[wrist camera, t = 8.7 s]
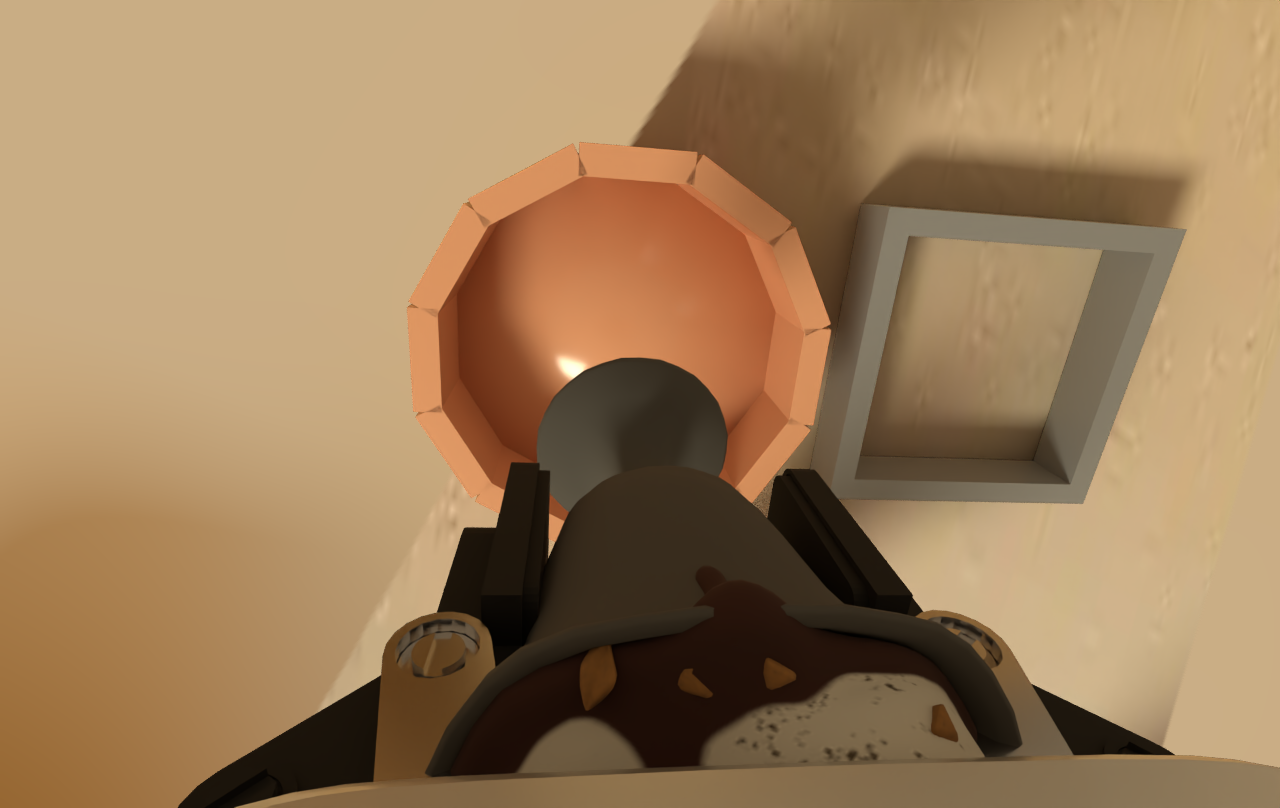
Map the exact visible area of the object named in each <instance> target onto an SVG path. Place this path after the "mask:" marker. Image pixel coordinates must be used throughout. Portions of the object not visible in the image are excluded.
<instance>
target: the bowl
mask: <svg viewBox="0 0 1280 808" xmlns="http://www.w3.org/2000/svg"><path fill="white" fill-rule="evenodd" d="M468 200H469V202H467V203H463V205H462V207H461V209H460V210H459V212H458V214H457V216H456V217H455V219H454V221H453V223H452V225H451V226H450V228H449V230H448V232H447V234H446V236H445V237H444V239H443V241H442V242H441V244H440V246H439V248H438V250H437V251H436V253H435V255H434V257H433V259H432V260H431V262H430V264H429V266H428V267H427V269H426V271H425V273H424V275H423V276H422V278H421V280H420V282H419V284H418V285H417V287H416V289H415V291H414V292H413V294H412V296H411V298H410V300H409V302H410V303H412V304H411V305H410V306H408V307H407V315H408V330H409V348H410V364H411V380H412V396H413V411H414V412H418V414H417V415H416V419H417V420H418V422H419V423H420V425H421V426H422V427H423V429H424V430H425V432H426V433H427V435H428V436H429V438H430V439H431V440H432V442H433V443H434V445H435V446H436V448H437V449H438V451H439V452H440V453H441V455H442V456H443V458H444V459H445V461H446V462H447V464H448V465H449V466H450V468H451V469H452V471H453V472H454V474H455V475H456V477H457V478H458V479H459V481H460V482H461V484H462V485H463V487H464V488H465V490H466V491H467V492H468V494H469V495H470V497H471V498H472V497H474V496H476V495H477V498H476V501H475V502H477V503H479V504H481V505H483V506H485V507H487V508H489V509H491V510H493V511H495V512H497V513H500V509H501V504H502V500H503V496H504V491H505V487H506V482H507V478H508V474H509V469H510V465H511V462H525V463H537V436H538V428H539V426H540V423H541V421H542V418H543V416H544V413H545V411H546V410H547V408H548V406H549V404H550V403H551V401H552V399H553V397H554V396H555V395H556V394H557V393H558V392H559V391H560V390H561V389H562V388H563V387H564V386H565V385H566V384H567V383H568V382H569V381H571V380H572V379H573V378H575V377H576V376H577V375H579V374H580V373H581V372H583V371H584V370H586V369H589V368H591V367H594V366H596V365H599V364H601V363H604V362H608V361H611V360H615V359H619V358H637V357H642V358H651V359H660V360H663V361H666V362H668V363H671V364H674V365H676V366H679V367H680V368H682V369H684V370H686V371H688V372H690V373H691V374H693V375H695V376H696V377H697V378H698V379H699V380H700V381H701V382H702V383H703V384H704V385H705V386H706V387H707V388H708V389H709V391H710V392H711V393H712V395H713V396H714V397H715V398H716V400H717V401H718V403H719V405H720V408H721V411H722V414H723V416H724V420H725V424H726V429H727V433H728V439H727V452H726V456H725V461H724V466H723V469H722V471H721V473H720V475H719V477H720V478H721V479H723V480H724V481H726V482H727V483H729V484H731V485H732V486H733V487H734V488H735V489H736V490H737V491H738V492H739V493H741V494H742V495H743V496H744V497H745V498H746V499H747V500H748V501H750V502H751V503H752V502H753V501H754V500H755V499H756V497H757V496H758V495H759V494H760V492H761V491H762V490H763V489H764V488H765V486H766V485H767V484H768V483H769V481H770V480H771V479H772V478H773V476H774V475H775V474H776V473H777V471H778V470H779V469H780V468H781V466H782V465H783V464H784V463H785V462H786V460H787V459H788V458H789V457H790V455H791V454H792V453H793V452H794V450H795V449H796V448H797V447H798V445H799V444H800V443H801V442H802V441H803V439H804V438H805V437H806V436H807V434H808V433H809V432H810V431H811V429H810V428H809V427H808V426H807V425H813V424H814V419H815V413H816V408H817V403H818V398H819V392H820V387H821V382H822V377H823V371H824V366H825V361H826V355H827V350H828V345H829V340H830V334H831V329H829V328H828V327H826V326H828V325H830V324H831V323H830V320H829V317H828V315H827V312H826V309H825V307H824V304H823V301H822V298H821V296H820V293H819V290H818V287H817V285H816V282H815V279H814V276H813V274H812V271H811V268H810V265H809V263H808V260H807V257H806V255H805V252H804V249H803V246H802V244H801V241H800V238H799V235H798V233H797V230H796V227H793V226H790V225H791V223H792V222H791V221H790V220H788V219H787V218H786V217H784V216H783V215H782V214H780V213H779V212H778V211H777V210H775V209H774V208H773V207H771V206H770V205H769V204H767V203H766V202H765V201H764V200H762V199H761V198H760V197H758V196H757V195H756V194H754V193H753V192H752V191H750V190H749V189H748V188H747V187H745V186H744V185H743V184H741V183H740V182H739V181H737V180H736V179H735V178H734V177H732V176H731V175H730V174H728V173H727V172H726V171H724V170H723V169H722V168H721V167H719V166H718V165H717V164H715V163H714V162H713V161H711V160H710V159H709V158H708V157H706V156H705V155H704V154H703V155H697V152H690V151H678V150H667V149H655V148H643V147H631V146H619V145H607V144H595V143H584V142H580V144H579V153H577V151H576V149H575V147H574V145H573V144H571V145H569V146H567V147H565V148H564V149H562V150H560V151H558V152H556V153H554V154H552V155H550V156H548V157H546V158H545V159H543V160H541V161H539V162H537V163H535V164H533V165H531V166H529V167H528V168H526V169H524V170H522V171H520V172H518V173H516V174H514V175H512V176H510V177H509V178H507V179H505V180H503V181H501V182H499V183H497V184H495V185H493V186H492V187H490V188H488V189H486V190H484V191H482V192H480V193H478V194H476V195H474V196H473V197H471V198H469V199H468ZM568 513H569V512H568V511H567V510H566V509H564V508H563V507H562V506H561V505H560V504H559V503H558V502H557V501H556V500H555V499H554V498H553V496H552V495H551V494H550V504H549V539H551V540H552V541H554V542H556V540H557V537H558V535H559V533H560V530H561V528H562V526H563V523H564V521H565V519H566V517H567V515H568Z"/></svg>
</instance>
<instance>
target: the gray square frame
mask: <svg viewBox="0 0 1280 808" xmlns="http://www.w3.org/2000/svg"><path fill="white" fill-rule="evenodd" d="M1186 230H1187V229H1177V228H1166V227H1156V226H1146V225H1136V224H1124V223H1111V222H1098V221H1085V220H1072V219H1059V218H1046V217H1033V216H1020V215H1007V214H994V213H981V212H968V211H955V210H942V209H929V208H916V207H903V206H890V205H877V204H864V203H861V206H860V212H859V217H858V222H857V227H856V232H855V238H854V243H853V248H852V253H851V258H850V264H849V269H848V274H847V279H846V284H845V290H844V295H843V300H842V305H841V310H840V316H839V321H838V326H837V331H836V336H835V341H834V347H833V352H832V357H831V362H830V367H829V373H828V378H827V383H826V388H825V393H824V399H823V404H822V409H821V414H820V419H819V425H818V430H817V435H816V440H815V445H814V451H813V456H812V461H811V466H810V469H814V470H815V471H817V473H818V474H819V475H820V476H821V478H822V479H823V480H824V482H825V483H826V484H827V485H828V487H829V488H830V489H831V491H832V492H833V493H834V494H835V496H836V497H837V498H838V499H863V500H913V501H964V502H1014V503H1065V504H1083V503H1084V500H1085V497H1086V495H1087V492H1088V489H1089V487H1090V484H1091V481H1092V479H1093V476H1094V473H1095V471H1096V468H1097V465H1098V463H1099V460H1100V457H1101V455H1102V452H1103V450H1104V447H1105V444H1106V442H1107V439H1108V436H1109V434H1110V431H1111V428H1112V426H1113V423H1114V420H1115V418H1116V415H1117V412H1118V410H1119V407H1120V405H1121V402H1122V399H1123V397H1124V394H1125V391H1126V389H1127V386H1128V383H1129V381H1130V378H1131V375H1132V373H1133V370H1134V367H1135V365H1136V362H1137V360H1138V357H1139V354H1140V352H1141V349H1142V346H1143V344H1144V341H1145V338H1146V336H1147V333H1148V330H1149V328H1150V325H1151V322H1152V320H1153V317H1154V314H1155V312H1156V309H1157V307H1158V304H1159V301H1160V299H1161V296H1162V293H1163V291H1164V288H1165V285H1166V283H1167V280H1168V277H1169V275H1170V272H1171V269H1172V267H1173V264H1174V262H1175V259H1176V256H1177V254H1178V251H1179V248H1180V246H1181V243H1182V240H1183V238H1184V235H1185V232H1186ZM909 236H917V237H931V238H945V239H959V240H973V241H987V242H1001V243H1015V244H1029V245H1043V246H1057V247H1071V248H1085V249H1099V250H1104V251H1103V254H1102V257H1101V260H1100V263H1099V265H1098V268H1097V271H1096V274H1095V277H1094V280H1093V283H1092V286H1091V289H1090V292H1089V295H1088V298H1087V301H1086V304H1085V307H1084V310H1083V313H1082V316H1081V319H1080V322H1079V325H1078V328H1077V331H1076V334H1075V337H1074V340H1073V343H1072V346H1071V349H1070V352H1069V355H1068V358H1067V361H1066V364H1065V367H1064V370H1063V373H1062V376H1061V379H1060V382H1059V385H1058V388H1057V391H1056V394H1055V397H1054V400H1053V403H1052V406H1051V409H1050V412H1049V415H1048V418H1047V421H1046V424H1045V427H1044V430H1043V433H1042V436H1041V439H1040V442H1039V445H1038V448H1037V451H1036V454H1035V457H1034V459H1033V461H1030V460H994V459H959V458H923V457H888V456H860V452H861V448H862V443H863V439H864V434H865V430H866V425H867V421H868V416H869V412H870V407H871V403H872V398H873V394H874V389H875V385H876V380H877V376H878V371H879V367H880V362H881V358H882V353H883V349H884V344H885V340H886V335H887V331H888V327H889V322H890V318H891V313H892V309H893V304H894V300H895V295H896V291H897V286H898V282H899V277H900V273H901V268H902V264H903V259H904V255H905V250H906V246H907V241H908V237H909Z"/></svg>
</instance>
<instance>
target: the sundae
mask: <svg viewBox="0 0 1280 808" xmlns="http://www.w3.org/2000/svg"><path fill="white" fill-rule="evenodd" d="M727 439H728V433H727V429H726V424H725V420H724V416H723V414H722V411H721V408H720V405H719V403H718V401H717V400H716V398H715V397H714V396H713V395H712V393H711V392H710V391H709V389H708V388H707V387H706V386H705V385H704V384H703V383H702V382H701V381H700V380H699V379H698V378H697V377H696V376H695V375H693V374H691V373H690V372H688V371H686V370H684V369H682V368H680V367H679V366H676V365H674V364H671V363H668V362H666V361H663V360H660V359H651V358H642V357H637V358H619V359H615V360H611V361H608V362H604V363H601V364H599V365H596V366H594V367H591V368H589V369H586V370H584V371H583V372H581V373H580V374H579V375H577V376H576V377H575V378H573V379H572V380H571V381H569V382H568V383H567V384H566V385H565V386H564V387H563V388H562V389H561V390H560V391H559V392H558V393H557V394H556V395H555V396H554V397H553V399H552V401H551V403H550V404H549V406H548V408H547V410H546V411H545V413H544V416H543V418H542V421H541V423H540V426H539V428H538V436H537V463H540V470H550V494H551V495H552V496H553V498H554V499H555V500H556V501H557V502H558V503H559V504H560V505H561V506H562V507H563V508H564V509H566V510H567V511H568V512H569V513H568V515H567V517H566V519H565V521H564V523H563V526H562V528H561V530H560V533H559V535H558V537H557V540H556V542H555V544H554V547H553V549H552V551H551V554H550V556H549V558H548V561H547V563H546V566H545V568H544V572H543V579H542V587H541V595H540V603H539V611H538V618H537V620H536V622H535V623H534V625H533V627H532V629H531V630H530V632H529V634H528V637H527V639H526V641H525V644H524V646H523V647H521V648H519V649H518V650H517V651H515V652H514V653H513V654H512V655H510V656H509V657H508V658H507V659H505V660H504V661H503V662H501V663H500V664H499V665H498V666H496V667H495V668H494V669H493V670H491V671H490V672H489V673H487V675H486V676H485V677H484V679H483V680H482V681H481V683H480V684H479V685H478V686H477V688H476V689H475V690H474V692H473V693H472V694H471V695H470V697H469V698H468V699H467V701H466V702H465V703H464V705H463V706H462V707H461V708H460V710H459V711H458V712H457V714H456V715H455V716H454V718H453V719H452V720H451V722H450V723H449V725H448V726H447V728H446V729H445V731H444V733H443V736H442V738H441V740H440V742H439V744H438V746H437V748H436V750H435V752H434V754H433V756H432V759H431V761H430V763H429V765H428V767H427V769H426V771H425V773H426V774H428V775H430V776H433V775H436V774H439V773H442V772H445V771H447V770H450V769H451V771H450V772H451V776H467V775H488V774H510V773H534V772H559V771H585V770H610V769H636V768H662V767H687V766H716V765H745V764H775V763H805V762H836V761H868V760H901V759H939V758H977V757H985V756H984V754H983V753H982V751H981V750H980V748H979V747H978V745H977V744H976V743H977V732H979V733H981V734H983V735H985V736H987V737H989V738H990V739H992V740H994V741H996V742H999V743H1004V744H1008V745H1012V746H1016V747H1020V746H1021V745H1022V744H1023V743H1022V739H1021V735H1020V732H1019V728H1018V724H1017V720H1016V716H1015V712H1014V710H1013V708H1012V706H1011V704H1010V702H1009V700H1008V698H1007V697H1006V695H1005V693H1004V691H1003V689H1002V687H1001V685H1000V684H999V682H998V680H997V678H996V676H995V674H994V672H993V671H992V670H991V669H990V667H989V666H988V665H987V664H986V663H985V661H984V660H983V659H982V658H981V657H980V655H979V654H978V653H977V652H976V650H975V649H974V648H973V647H972V646H971V644H969V643H968V642H966V641H965V640H963V639H962V638H960V637H959V636H957V635H956V634H954V633H953V632H951V631H950V630H948V629H946V628H945V627H943V626H942V625H940V624H939V623H937V622H934V621H930V620H926V619H922V618H918V617H914V616H909V615H905V614H901V613H896V612H890V611H884V610H878V609H871V608H865V607H859V606H853V605H847V604H844V603H843V602H841V601H840V600H839V599H838V598H837V597H836V596H835V595H834V594H833V593H832V592H831V591H829V590H828V589H827V588H826V587H825V585H824V584H823V583H822V582H821V581H820V579H819V578H818V577H817V576H816V575H815V573H814V572H813V571H812V570H811V569H810V567H809V566H808V565H807V564H806V563H805V562H804V560H803V559H802V558H801V557H800V556H799V554H798V553H797V552H796V551H795V550H794V548H793V547H792V546H791V545H790V544H789V542H788V541H787V540H786V539H785V538H784V536H783V535H782V534H781V533H780V532H779V531H778V530H777V529H776V528H775V527H774V525H773V524H772V523H771V522H770V521H769V520H768V519H767V518H766V517H765V516H764V515H763V514H762V512H761V511H760V510H759V509H757V508H756V507H755V506H754V505H753V504H752V503H751V502H750V501H748V500H747V499H746V498H745V497H744V496H743V495H742V494H741V493H739V492H738V491H737V490H736V489H735V488H734V487H733V486H732V485H731V484H729V483H727V482H726V481H724V480H723V479H721V478H720V477H719V475H720V473H721V471H722V469H723V466H724V461H725V456H726V452H727Z"/></svg>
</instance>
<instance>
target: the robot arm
mask: <svg viewBox="0 0 1280 808" xmlns="http://www.w3.org/2000/svg"><path fill="white" fill-rule="evenodd" d="M549 504H550V470H540V463H525V462H511V465H510V469H509V474H508V478H507V482H506V487H505V491H504V496H503V500H502V504H501V509H500V513H499V518H498V522H497V526H496V528H474V527H466V528H464V530H463V532H462V535H461V538H460V541H459V544H458V548H457V551H456V554H455V557H454V560H453V563H452V566H451V570H450V573H449V576H448V579H447V582H446V585H445V588H444V592H443V595H442V598H441V601H440V604H439V607H438V611H437V613H433V614H429V615H425V616H421V617H419V618H417V619H415V620H413V621H411V622H409V623H406V624H405V625H404V626H403V627H401V628H400V629H399V630H397V631H396V632H395V633H394V634H393V635H392V637H391V638H390V639H389V641H388V642H387V643H386V646H385V649H384V653H383V656H382V670H381V676H379V677H377V678H376V679H374V680H372V681H371V682H369V683H367V684H366V685H364V686H362V687H360V688H359V689H357V690H355V691H354V692H352V693H350V694H349V695H347V696H345V697H344V698H342V699H340V700H338V701H337V702H335V703H333V704H332V705H330V706H328V707H327V708H325V709H323V710H321V711H320V712H318V713H316V714H315V715H313V716H311V717H310V718H308V719H306V720H304V721H303V722H301V723H300V724H298V725H296V726H294V727H293V728H291V729H289V730H288V731H286V732H284V733H282V734H281V735H279V736H277V737H276V738H274V739H272V740H271V741H269V742H267V743H265V744H264V745H262V746H260V747H259V748H257V749H255V750H254V751H252V752H250V753H249V754H247V755H245V756H243V757H242V758H240V759H238V760H237V761H235V762H233V763H232V764H230V765H228V766H227V767H225V768H223V769H221V770H220V771H218V772H217V773H215V774H214V775H212V776H211V777H210V778H208V779H207V780H205V781H204V782H203V783H201V784H200V785H198V786H197V787H196V788H195V789H194V790H193V791H192V792H191V793H190V794H189V795H188V797H186V798H185V800H184V801H183V802H182V803H181V804H180V805H179V807H178V808H1280V768H1278V767H1273V766H1267V765H1261V764H1256V763H1250V762H1245V761H1240V760H1233V759H1224V758H1213V757H1202V756H1183V755H1174V754H1173V753H1171V752H1170V751H1168V750H1167V749H1165V748H1163V747H1161V746H1159V745H1157V744H1155V743H1153V742H1151V741H1149V740H1147V739H1145V738H1143V737H1141V736H1139V735H1137V734H1135V733H1133V732H1131V731H1128V730H1126V729H1124V728H1122V727H1120V726H1118V725H1116V724H1114V723H1112V722H1110V721H1108V720H1105V719H1103V718H1101V717H1099V716H1097V715H1095V714H1093V713H1091V712H1089V711H1087V710H1085V709H1083V708H1080V707H1078V706H1076V705H1074V704H1072V703H1070V702H1068V701H1066V700H1064V699H1062V698H1060V697H1058V696H1055V695H1053V694H1051V693H1049V692H1047V691H1045V690H1043V689H1041V688H1039V687H1037V686H1035V685H1033V684H1031V683H1030V681H1029V680H1028V678H1027V676H1026V675H1025V673H1024V671H1023V670H1022V668H1021V666H1020V664H1019V663H1018V661H1017V659H1016V658H1015V656H1014V654H1013V653H1012V651H1011V649H1010V648H1009V647H1008V646H1007V644H1006V643H1005V642H1004V641H1003V639H1002V638H1001V637H999V636H998V635H997V634H996V633H995V632H993V631H992V630H991V629H990V628H988V627H986V626H985V625H983V624H981V623H979V622H978V621H976V620H974V619H971V618H969V617H966V616H964V615H961V614H957V613H953V612H949V611H940V610H931V611H926V612H923V611H922V609H921V608H920V607H919V606H918V604H917V603H916V602H915V600H914V599H913V598H912V597H913V595H912V593H911V592H910V591H909V589H908V588H907V587H906V586H905V584H904V583H903V582H902V580H901V579H900V578H899V577H898V575H897V574H896V573H895V571H894V570H893V569H892V568H891V566H890V565H889V564H888V562H887V561H886V560H885V559H884V557H883V556H882V555H881V553H880V552H879V551H878V550H877V548H876V547H875V546H874V544H873V543H872V542H871V541H870V539H869V538H868V537H867V536H866V534H865V533H864V532H863V530H862V529H861V528H860V527H859V525H858V524H857V523H856V521H855V520H854V519H853V518H852V516H851V515H850V514H849V512H848V511H847V510H846V509H845V507H844V506H843V505H842V503H841V502H840V501H839V500H838V498H837V497H836V496H835V494H834V493H833V492H832V491H831V489H830V488H829V487H828V485H827V484H826V483H825V482H824V480H823V479H822V478H821V476H820V475H819V474H818V473H817V471H815V470H814V469H786V470H785V471H784V473H783V476H776V477H775V479H774V483H773V489H772V495H771V500H770V506H769V512H768V518H767V519H768V520H769V521H770V522H771V523H772V524H773V525H774V527H775V528H776V529H777V530H778V531H779V532H780V533H781V534H782V535H783V536H784V538H785V539H786V540H787V541H788V542H789V544H790V545H791V546H792V547H793V548H794V550H795V551H796V552H797V553H798V554H799V556H800V557H801V558H802V559H803V560H804V562H805V563H806V564H807V565H808V566H809V567H810V569H811V570H812V571H813V572H814V573H815V575H816V576H817V577H818V578H819V579H820V581H821V582H822V583H823V584H824V585H825V587H826V588H827V589H828V590H829V591H831V592H832V593H833V594H834V595H835V596H836V597H837V598H838V599H839V600H840V601H841V602H843V603H844V604H847V605H853V606H859V607H865V608H871V609H878V610H884V611H890V612H896V613H901V614H905V615H909V616H914V617H918V618H922V619H926V620H930V621H934V622H937V623H939V624H940V625H942V626H943V627H945V628H946V629H948V630H950V631H951V632H953V633H954V634H956V635H957V636H959V637H960V638H962V639H963V640H965V641H966V642H968V643H969V644H971V646H972V647H973V648H974V649H975V650H976V652H977V653H978V654H979V655H980V657H981V658H982V659H983V660H984V661H985V663H986V664H987V665H988V666H989V667H990V669H991V670H992V671H993V672H994V674H995V676H996V678H997V680H998V682H999V684H1000V685H1001V687H1002V689H1003V691H1004V693H1005V695H1006V697H1007V698H1008V700H1009V702H1010V704H1011V706H1012V708H1013V710H1014V712H1015V716H1016V720H1017V724H1018V728H1019V732H1020V735H1021V739H1022V743H1023V744H1022V745H1021V746H1020V747H1016V746H1012V745H1008V744H1004V743H999V742H996V741H994V740H992V739H990V738H989V737H987V736H985V735H983V734H981V733H979V732H977V743H976V744H977V745H978V747H979V748H980V750H981V751H982V753H983V754H984V756H985V757H977V758H939V759H901V760H868V761H836V762H805V763H775V764H745V765H716V766H687V767H662V768H636V769H610V770H585V771H559V772H534V773H510V774H488V775H467V776H451V772H450V771H451V769H450V770H447V771H445V772H442V773H439V774H436V775H433V776H430V775H428V774H426V773H425V771H426V769H427V767H428V765H429V763H430V761H431V759H432V756H433V754H434V752H435V750H436V748H437V746H438V744H439V742H440V740H441V738H442V736H443V733H444V731H445V729H446V728H447V726H448V725H449V723H450V722H451V720H452V719H453V718H454V716H455V715H456V714H457V712H458V711H459V710H460V708H461V707H462V706H463V705H464V703H465V702H466V701H467V699H468V698H469V697H470V695H471V694H472V693H473V692H474V690H475V689H476V688H477V686H478V685H479V684H480V683H481V681H482V680H483V679H484V677H485V676H486V675H487V673H489V672H490V671H491V670H493V669H494V668H495V667H496V666H498V665H499V664H500V663H501V662H503V661H504V660H505V659H507V658H508V657H509V656H510V655H512V654H513V653H514V652H515V651H517V650H518V649H519V648H521V647H523V646H524V644H525V641H526V639H527V637H528V634H529V632H530V630H531V629H532V627H533V625H534V623H535V622H536V620H537V618H538V611H539V603H540V595H541V587H542V579H543V572H544V568H545V566H546V563H547V561H548V545H549Z"/></svg>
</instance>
